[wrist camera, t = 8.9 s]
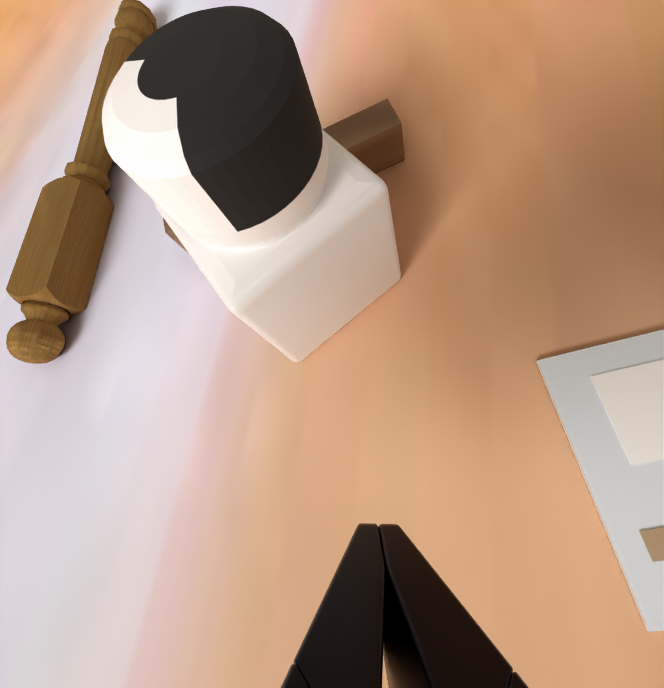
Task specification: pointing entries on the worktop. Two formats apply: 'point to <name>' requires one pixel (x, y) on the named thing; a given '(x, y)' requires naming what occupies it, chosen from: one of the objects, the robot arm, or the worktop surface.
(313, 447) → the worktop surface
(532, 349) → the worktop surface
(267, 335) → the medicine bottle
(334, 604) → the robot arm
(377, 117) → the stop bar
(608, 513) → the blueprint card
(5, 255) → the worktop surface
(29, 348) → the tap handle
